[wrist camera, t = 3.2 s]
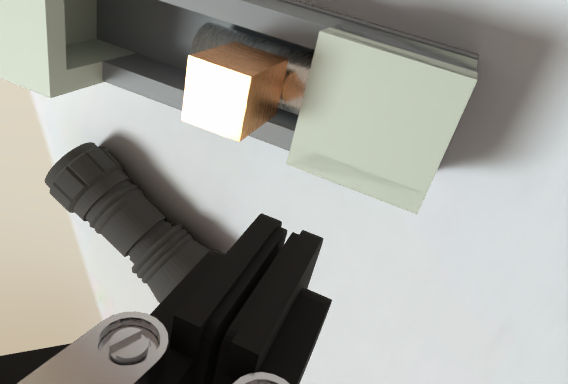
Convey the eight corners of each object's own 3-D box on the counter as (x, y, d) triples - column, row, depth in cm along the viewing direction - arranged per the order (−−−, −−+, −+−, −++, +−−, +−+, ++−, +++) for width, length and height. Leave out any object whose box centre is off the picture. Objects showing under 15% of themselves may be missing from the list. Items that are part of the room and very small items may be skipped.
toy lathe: (478, 54, 23) (478, 91, 16) (427, 171, 27) (410, 240, 20) (97, -58, 28) (-25, -67, 21) (97, 52, 32) (-8, 75, 25)
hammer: (462, 95, 23) (456, 144, 17) (438, 150, 25) (424, 214, 18) (222, 19, 26) (139, 36, 20) (214, 73, 28) (135, 104, 21)
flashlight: (80, 169, 38) (26, 196, 33) (104, 127, 35) (49, 150, 30) (210, 295, 38) (175, 339, 34) (245, 264, 35) (211, 307, 31)
